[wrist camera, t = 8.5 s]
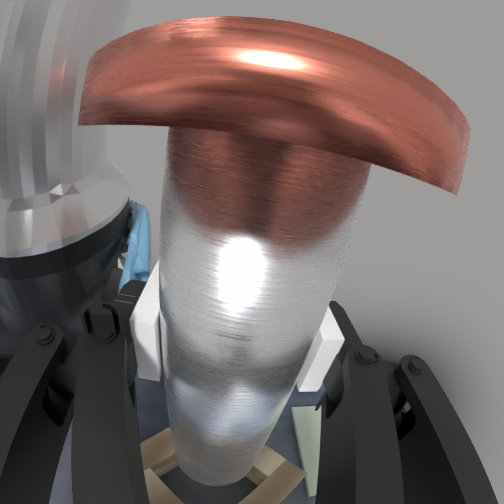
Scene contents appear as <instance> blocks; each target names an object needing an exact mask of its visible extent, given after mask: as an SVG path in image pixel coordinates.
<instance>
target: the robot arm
mask: <svg viewBox="0 0 504 504" xmlns="http://www.w3.org/2000/svg"><path fill="white" fill-rule="evenodd" d="M133 2H134V0H0V504H49V500H50V495H51V490H52V486H53V482H54V478H55V474H56V470H57V466H58V462H59V459H60V455H61V452H62V449H63V445H64V442H65V439H66V436H67V433H68V430H69V427H70V424H71V421H72V418H73V425H72V448H71V469H72V491H73V503H74V504H150V502H149V497H148V492H147V487H146V481H145V475H144V469H143V462H142V455H141V447H140V439H139V429H138V417H137V403H136V386H135V382H134V378H135V374H136V371H138V376H139V378H143V379H148V380H154V381H160V377H161V372H162V368H163V363H162V350H161V334H160V311H159V260H158V262H157V264H156V266H155V268H154V270H153V272H152V274H151V275H150V277H149V270H150V262H151V227H150V218H149V212H148V210H147V208H146V207H145V206H144V205H142V204H138V203H137V202H133V201H129V192H130V191H129V182H128V179H127V177H126V176H125V174H124V173H122V172H121V171H120V170H119V169H118V168H117V167H116V166H115V165H114V164H113V163H112V162H111V161H110V160H109V159H108V157H107V142H108V128H109V125H87V126H78V119H79V111H80V103H81V97H82V90H83V85H84V79H85V74H86V69H87V65H88V61H89V59H90V58H91V57H92V55H93V54H94V53H95V52H96V51H97V50H99V49H100V48H102V47H103V46H105V45H106V44H108V43H109V42H111V41H113V40H115V39H117V38H119V37H122V36H124V32H125V29H126V25H127V21H128V18H129V15H130V11H131V8H132V5H133ZM148 277H149V280H148ZM296 383H297V387H298V391H299V392H311V391H318V390H319V388H320V386H321V384H322V383H324V386H325V390H326V391H325V392H324V394H323V396H322V397H321V399H320V400H319V402H318V404H317V405H316V408H315V411H318V409H319V408H320V406H321V433H320V453H319V468H318V480H317V491H316V501H315V504H498V502H497V499H496V496H495V494H494V491H493V489H492V486H491V484H490V481H489V479H488V477H487V474H486V472H485V470H484V467H483V465H482V463H481V461H480V458H479V456H478V454H477V452H476V450H475V448H474V446H473V444H472V442H471V440H470V438H469V436H468V434H467V432H466V430H465V428H464V426H463V425H462V423H461V421H460V419H459V417H458V415H457V414H456V412H455V410H454V408H453V406H452V404H451V403H450V401H449V399H448V398H447V396H446V394H445V393H444V391H443V389H442V388H441V386H440V384H439V382H438V381H437V379H436V378H435V376H434V374H433V373H432V371H431V370H430V368H429V366H428V365H427V364H426V363H425V361H424V360H422V359H421V358H420V357H417V356H415V355H406V356H404V357H403V358H402V359H401V360H400V362H399V363H398V364H397V363H392V362H387V361H383V360H382V359H381V357H380V355H379V354H378V353H377V352H376V351H375V350H374V349H372V348H371V347H369V346H365V345H363V344H362V342H361V340H360V338H359V336H358V334H357V333H356V331H355V329H354V327H353V325H352V324H351V322H350V319H349V318H348V316H347V314H346V312H345V310H344V309H343V308H342V307H341V306H340V305H339V304H338V303H337V302H336V301H330V303H329V306H328V308H327V311H326V314H325V316H324V319H323V321H322V324H321V327H320V329H319V332H318V334H317V336H316V339H315V341H314V344H313V346H312V348H311V351H310V353H309V355H308V358H307V360H306V362H305V365H304V367H303V369H302V371H301V374H300V376H299V378H298V380H297V382H296ZM407 403H409V405H410V407H411V409H410V410H409V411H408V412H407V411H406V410H405V409H404V406H405V405H406V404H407Z"/></svg>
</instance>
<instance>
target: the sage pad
mask: <svg viewBox="0 0 504 504" xmlns="http://www.w3.org/2000/svg"><path fill="white" fill-rule="evenodd" d="M315 408H316V406H306V407H292V408H291V413H292V418H293V423H294V428H295V433H296V438H297V443H298V448H299V453H300V459H301V464H302V469H303V470H304V471H306V472H307V473H308V474H307V475H306V476H305V477H304V479H305V484H306V489H307V495H308V497H313V496H316V491H317V480H318V468H319V453H320V433H321V406H320V408H319V409H318V411H315Z"/></svg>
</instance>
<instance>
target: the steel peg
mask: <svg viewBox="0 0 504 504" xmlns="http://www.w3.org/2000/svg"><path fill="white" fill-rule="evenodd" d="M87 125H147V126H148V125H149V126H168V127H169V133H168V140H167V148H166V157H165V166H164V176H163V189H162V202H161V218H160V244H159V245H160V246H159V311H160V334H161V350H162V363H163V375H164V385H165V394H166V402H167V410H168V417H169V424H170V431H171V437H172V443H173V449H174V454H175V458H176V462H177V464H178V466H179V467H180V469H181V470H182V471H183V472H184V473H185V474H186V475H187V476H188V477H190V478H191V479H193V480H195V481H196V482H199V483H201V484H205V485H209V486H225V485H230V484H233V483H235V482H237V481H239V480H241V479H242V478H243V477H245V476H246V475H247V473H248V472H249V471H250V469H251V468H252V466H253V464H254V463H255V461H256V459H257V457H258V456H259V454H260V452H261V450H262V449H263V447H264V445H265V443H266V441H267V440H268V438H269V436H270V434H271V432H272V430H273V429H274V427H275V425H276V423H277V421H278V419H279V417H280V415H281V413H282V411H283V409H284V407H285V405H286V403H287V401H288V399H289V397H290V395H291V393H292V391H293V389H294V386H295V384H296V382H297V380H298V378H299V376H300V374H301V371H302V369H303V367H304V365H305V362H306V360H307V358H308V355H309V353H310V351H311V348H312V346H313V344H314V341H315V339H316V336H317V334H318V332H319V329H320V327H321V324H322V321H323V319H324V316H325V314H326V311H327V308H328V306H329V303H330V300H331V298H332V295H333V292H334V289H335V287H336V284H337V281H338V278H339V275H340V272H341V269H342V266H343V263H344V260H345V257H346V254H347V251H348V248H349V245H350V241H351V238H352V235H353V231H354V228H355V225H356V221H357V218H358V214H359V211H360V207H361V203H362V199H363V196H364V191H365V188H366V184H367V180H368V176H369V171H370V167H371V164H374V165H377V166H381V167H384V168H387V169H390V170H393V171H396V172H399V173H402V174H404V175H407V176H410V177H413V178H416V179H418V180H421V181H423V182H426V183H429V184H431V185H434V186H436V187H439V188H441V189H444V190H446V191H448V192H451V193H453V194H456V195H458V191H459V187H460V184H461V179H462V175H463V170H464V166H465V161H466V156H467V151H468V145H469V139H470V127H469V124H468V122H467V119H466V117H465V116H464V115H463V113H462V112H461V110H460V109H459V108H458V106H457V105H456V104H455V103H454V102H453V101H452V100H451V99H450V98H449V97H448V96H447V95H446V94H445V93H444V92H443V91H442V90H441V89H440V88H439V87H438V86H436V85H435V84H434V83H433V82H431V81H430V80H429V79H427V78H426V77H424V76H423V75H421V74H420V73H419V72H417V71H416V70H414V69H413V68H411V67H410V66H408V65H407V64H405V63H403V62H402V61H400V60H398V59H396V58H394V57H392V56H390V55H388V54H386V53H384V52H382V51H380V50H378V49H376V48H374V47H371V46H369V45H367V44H364V43H362V42H360V41H358V40H355V39H353V38H350V37H347V36H344V35H341V34H337V33H334V32H330V31H327V30H323V29H320V28H316V27H312V26H308V25H304V24H299V23H294V22H290V21H283V20H274V19H265V18H253V17H236V16H235V17H234V16H223V17H222V16H220V17H206V18H205V17H204V18H194V19H184V20H177V21H171V22H167V23H162V24H159V25H154V26H150V27H147V28H143V29H140V30H136V31H134V32H131V33H129V34H127V35H124V36H122V37H119V38H117V39H115V40H113V41H111V42H109V43H108V44H106V45H105V46H103V47H102V48H100V49H99V50H97V51H96V52H95V53H94V54H93V55H92V57H91V58H90V59H89V61H88V65H87V69H86V74H85V79H84V85H83V90H82V97H81V103H80V111H79V119H78V126H87Z"/></svg>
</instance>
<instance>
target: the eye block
mask: <svg viewBox="0 0 504 504" xmlns="http://www.w3.org/2000/svg"><path fill="white" fill-rule="evenodd" d="M140 447H141V455H142V462H143V469H144V475H145V481H146V487H147V492H148V497H149V502H150V504H184V503H183V502H182V501H181V500H180V499H179V498H178V497H177V496H176V495H175V494H174V493H173V492H172V491H171V490H170V489H169V488H168V487H167V486H166V485H165V484H164V483H163V482H162V481H161V480H160V479H159V477H161V476H162V475H164V474H166V473H168V472H169V471H171V470H172V469H174V468H176V467H177V466H178V464H177V462H176V458H175V454H174V449H173V443H172V437H171V431H170V427H168V428H166V429H165V430H163V431H161V432H159V433H158V434H156V435H154V436H152V437H150V438H149V439H147V440H145V441H143V442H141V443H140ZM307 474H308V473H307V472H306V471H304V470H302V469H301V468H299V467H298V466H296V465H294V464H293V463H291V462H290V461H288V460H287V459H285V458H284V457H282V456H281V455H279V454H278V453H277V452H275V451H274V450H272V449H271V448H269V447H268V446H267V445H264V447H263V449H262V450H261V452H260V454H259V456H258V457H257V459H256V461H255V463H254V464H253V466H252V468H251V469H250V471H249V472H248V473H247V475H246V476H245V477H247V478H248V479H249V480H251V481H252V482H254V483H255V484H256V485H258V487H257V488H256V489H254V490H253V491H252V492H251V493H250V494H249V495H248V496H246V497H245V498H244V499H243V500H242V501H240V502H239V503H238V504H280V503H281V502H282V501H283V500H284V499H285V498H286V497H287V496H288V495H289V494H290V493H291V492H292V491H293V489H294V488H295V487H296V486H297V485H298V484H299V483H300V482H301V481H302V480H303V478H304V477H305V476H306V475H307Z"/></svg>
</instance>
